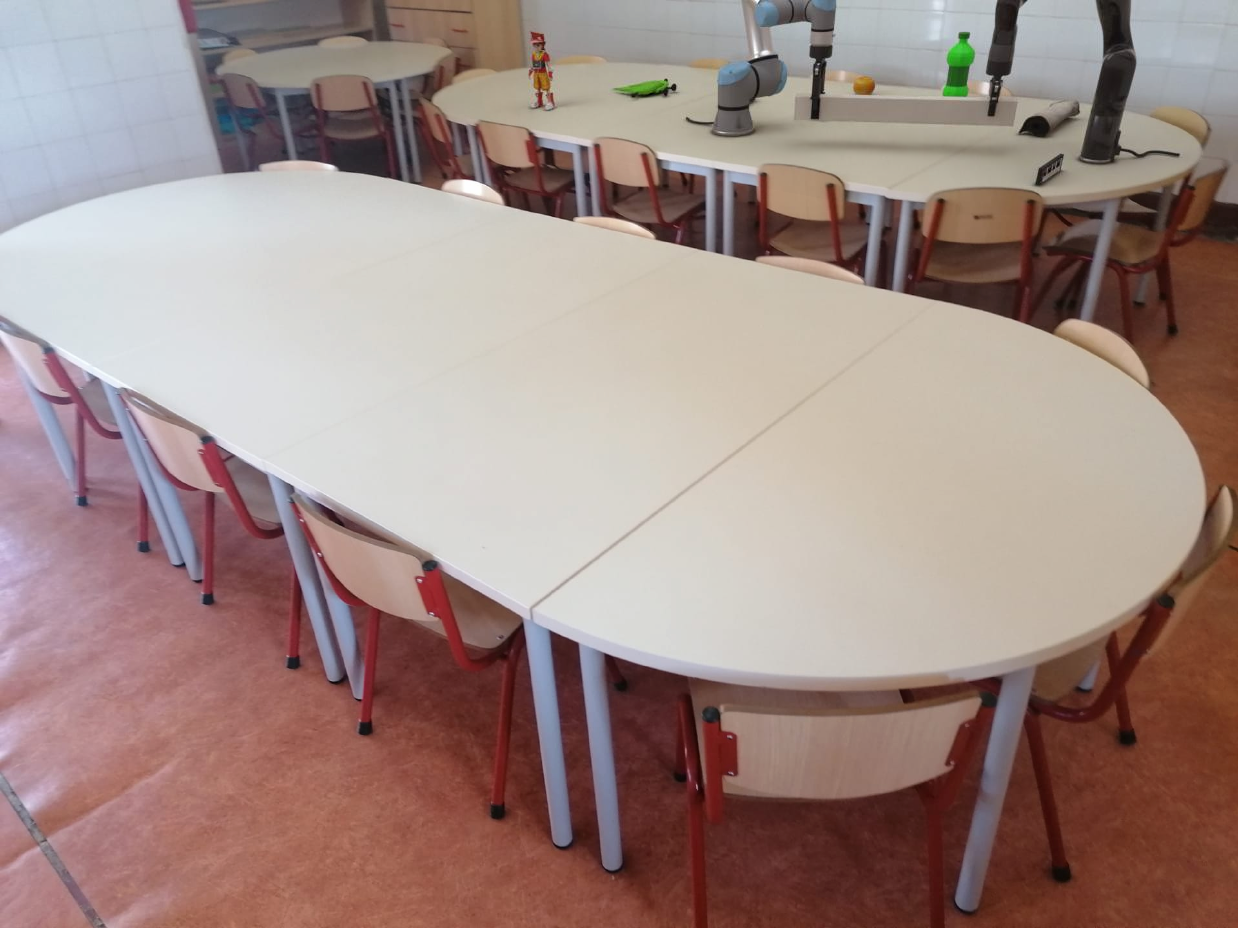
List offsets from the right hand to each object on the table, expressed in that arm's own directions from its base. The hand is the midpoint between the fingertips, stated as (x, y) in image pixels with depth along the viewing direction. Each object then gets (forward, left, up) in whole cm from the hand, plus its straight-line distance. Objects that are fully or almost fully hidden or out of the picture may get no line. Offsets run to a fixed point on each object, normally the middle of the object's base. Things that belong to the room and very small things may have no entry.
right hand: (990, 114), depth 294 cm
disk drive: (+83, -73, -12) cm, 111 cm away
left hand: (+56, -12, -2) cm, 57 cm away
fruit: (+31, -82, -12) cm, 88 cm away
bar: (+28, -6, -3) cm, 29 cm away
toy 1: (+166, -76, -12) cm, 182 cm away
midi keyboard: (-12, +30, -12) cm, 35 cm away
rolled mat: (-28, -28, -12) cm, 42 cm away
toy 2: (+126, -99, -12) cm, 160 cm away
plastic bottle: (-2, -66, -12) cm, 68 cm away
